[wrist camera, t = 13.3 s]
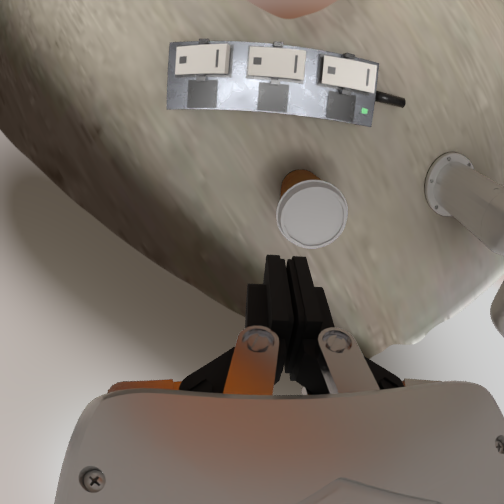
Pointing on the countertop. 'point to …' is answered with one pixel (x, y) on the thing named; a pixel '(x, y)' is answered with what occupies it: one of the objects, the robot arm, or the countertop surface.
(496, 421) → the robot arm
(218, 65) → the rocker
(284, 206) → the disposable coffee cup
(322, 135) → the countertop surface
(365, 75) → the rocker
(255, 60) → the rocker
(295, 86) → the power strip
